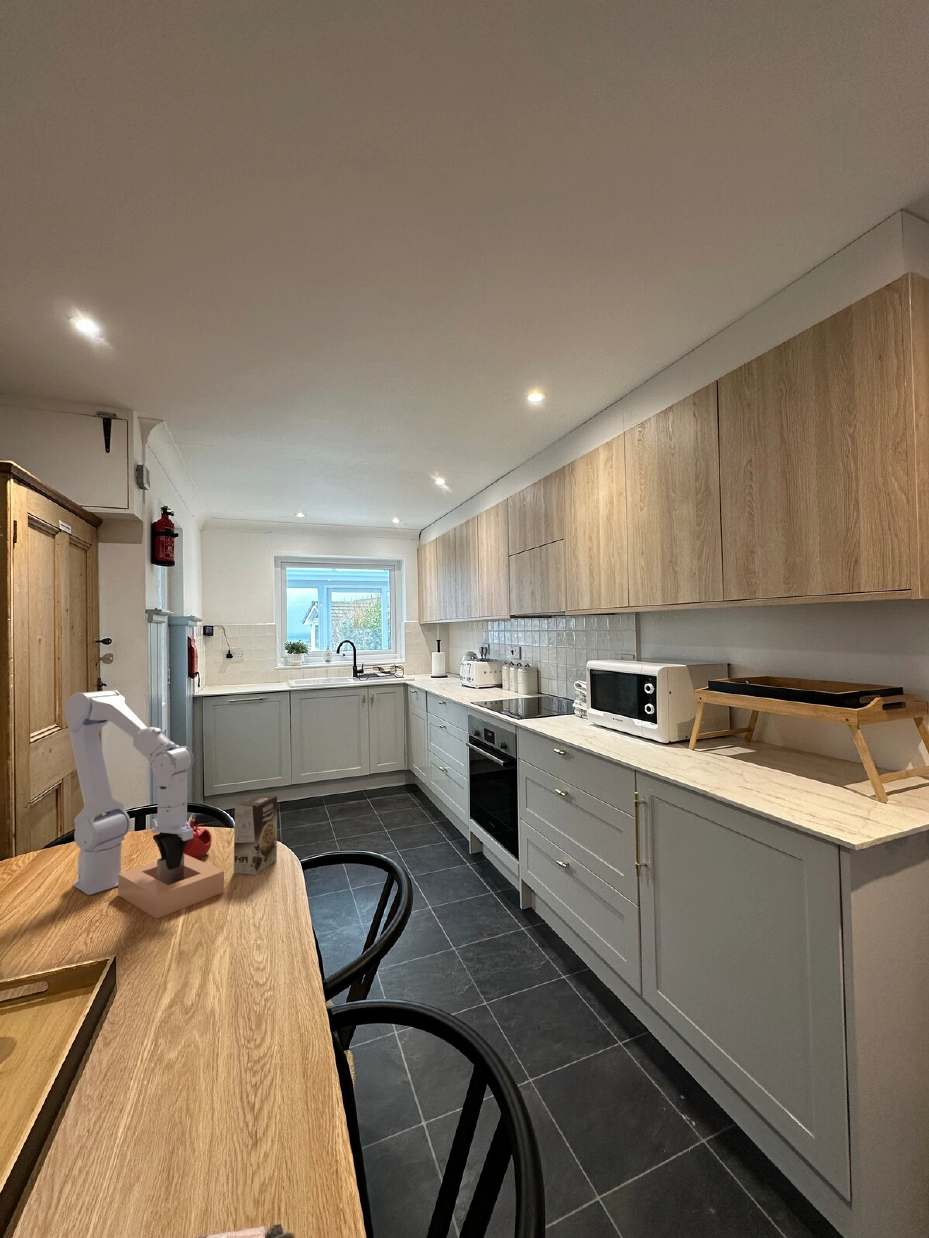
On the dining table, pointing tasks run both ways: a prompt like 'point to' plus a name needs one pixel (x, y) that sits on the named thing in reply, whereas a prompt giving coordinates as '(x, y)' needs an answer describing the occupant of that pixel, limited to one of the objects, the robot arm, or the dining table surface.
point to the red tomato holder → (198, 842)
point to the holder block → (170, 887)
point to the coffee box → (255, 834)
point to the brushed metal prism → (169, 871)
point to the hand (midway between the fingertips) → (171, 866)
